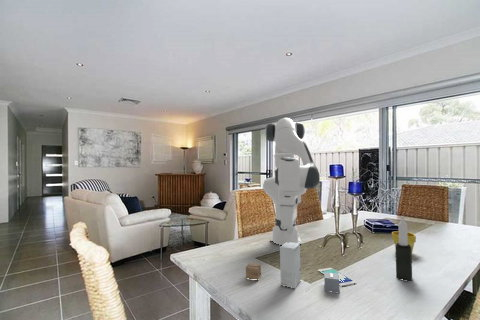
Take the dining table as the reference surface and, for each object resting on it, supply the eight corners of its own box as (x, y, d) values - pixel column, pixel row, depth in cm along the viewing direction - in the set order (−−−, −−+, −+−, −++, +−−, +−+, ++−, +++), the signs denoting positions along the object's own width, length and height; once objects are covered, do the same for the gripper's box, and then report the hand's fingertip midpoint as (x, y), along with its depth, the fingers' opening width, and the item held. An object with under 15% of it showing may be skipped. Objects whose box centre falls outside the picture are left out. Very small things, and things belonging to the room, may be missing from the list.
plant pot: (393, 254, 124) (392, 235, 124) (391, 248, 133) (391, 230, 133) (418, 257, 119) (417, 237, 119) (414, 251, 128) (413, 232, 128)
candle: (397, 274, 101) (396, 214, 102) (412, 277, 98) (410, 215, 99) (395, 278, 97) (394, 216, 98) (411, 282, 94) (409, 217, 95)
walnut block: (249, 274, 102) (249, 262, 103) (261, 276, 101) (260, 263, 101) (246, 279, 98) (245, 266, 98) (258, 281, 96) (257, 268, 96)
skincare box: (295, 289, 89) (294, 249, 90) (279, 285, 92) (279, 246, 93) (301, 280, 97) (300, 242, 97) (286, 277, 100) (286, 240, 100)
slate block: (324, 285, 93) (324, 271, 93) (338, 287, 91) (338, 273, 91) (324, 291, 88) (324, 277, 88) (339, 293, 87) (339, 279, 87)
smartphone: (331, 267, 108) (357, 282, 94) (331, 269, 108) (357, 284, 93) (317, 269, 105) (341, 285, 91) (317, 271, 105) (341, 287, 91)
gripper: (285, 194, 106) (285, 226, 106) (277, 200, 87) (277, 239, 86) (300, 195, 104) (300, 227, 104) (294, 201, 85) (295, 241, 84)
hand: (290, 233), depth 95 cm, fingers closed
